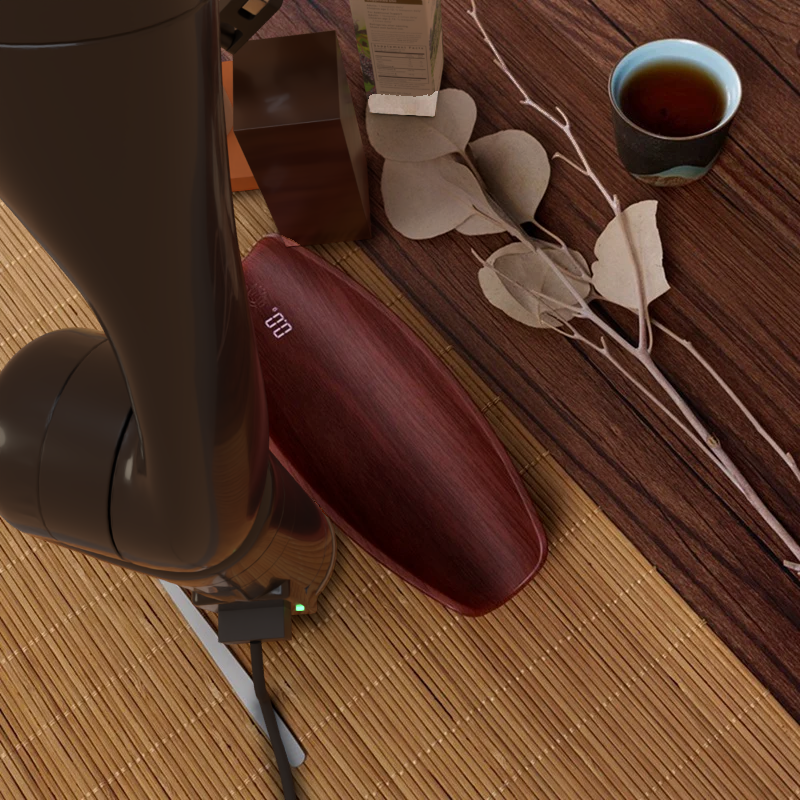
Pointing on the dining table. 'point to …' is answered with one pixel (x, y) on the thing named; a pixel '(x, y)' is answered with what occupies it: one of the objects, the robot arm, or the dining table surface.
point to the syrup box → (399, 45)
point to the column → (302, 136)
